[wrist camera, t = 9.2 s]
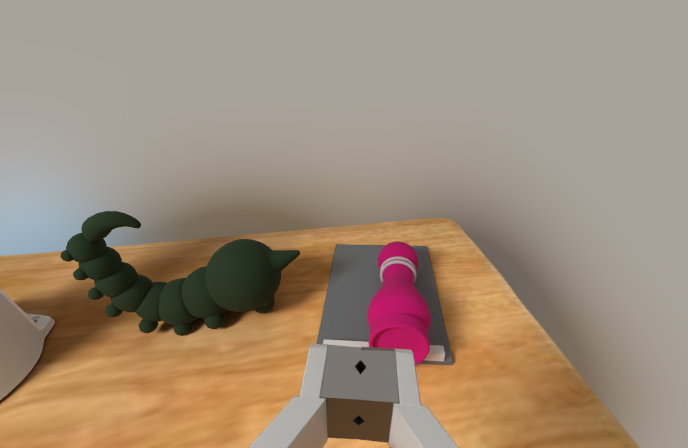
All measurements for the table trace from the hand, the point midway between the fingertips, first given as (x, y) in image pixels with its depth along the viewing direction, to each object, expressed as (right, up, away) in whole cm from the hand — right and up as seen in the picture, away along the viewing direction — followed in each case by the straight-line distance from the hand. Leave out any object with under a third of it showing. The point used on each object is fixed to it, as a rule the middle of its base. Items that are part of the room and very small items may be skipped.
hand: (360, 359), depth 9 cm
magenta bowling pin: (+5, -9, +22) cm, 24 cm away
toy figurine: (-18, -9, +34) cm, 40 cm away
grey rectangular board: (+5, -6, +36) cm, 37 cm away
